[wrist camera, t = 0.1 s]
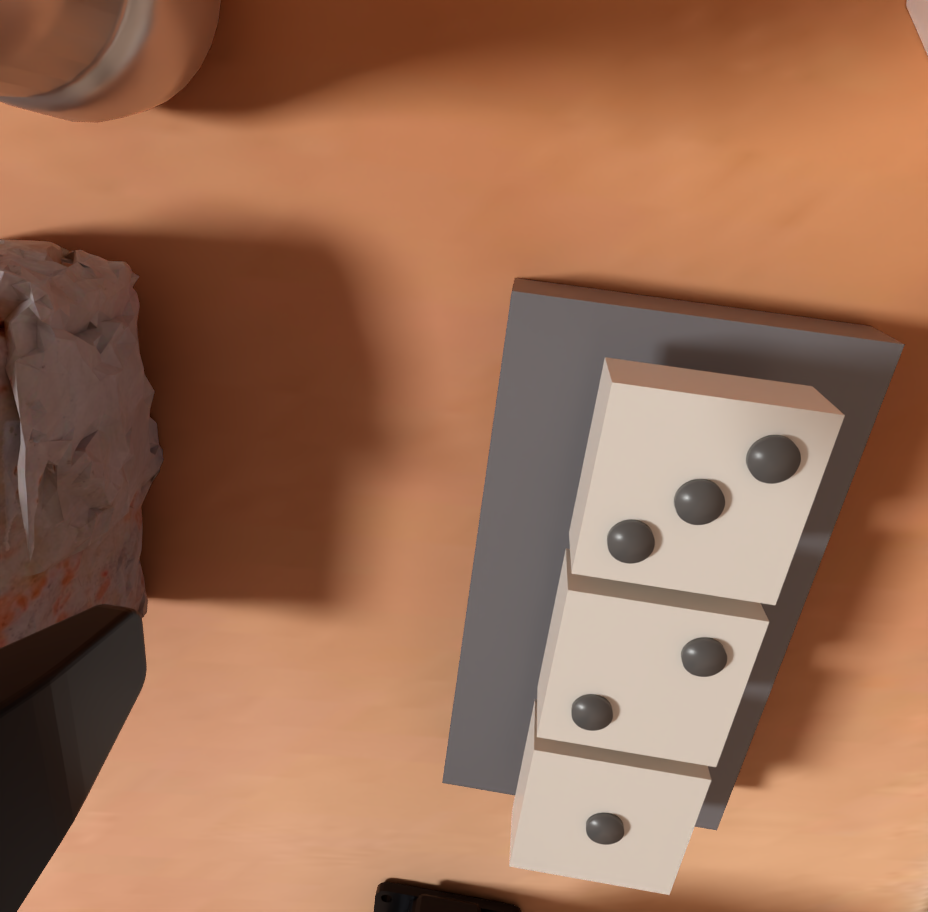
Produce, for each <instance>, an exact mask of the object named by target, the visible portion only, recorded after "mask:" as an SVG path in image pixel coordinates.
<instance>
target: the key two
mask: <svg viewBox="0 0 928 912" xmlns="http://www.w3.org/2000/svg"><path fill="white" fill-rule="evenodd" d="M768 624H769V620H768V618H767V616H766V614H765V612H764V609H763V607H762V605H761V603H757V602H751V601H745V600H738V599H732V598H725V597H719V596H713V595H706V594H700V593H693V592H687V591H681V590H674V589H668V588H661V587H655V586H649V585H642V584H636V583H629V582H623V581H616V580H610V579H604V578H597V577H591V576H584V575H578V574H572V573H571V558H570V549H567V548H566V550H565V555H564V560H563V564H562V569H561V574H560V579H559V584H558V589H557V594H556V599H555V604H554V608H553V613H552V618H551V623H550V628H549V633H548V638H547V643H546V648H545V652H544V657H543V662H542V667H541V672H540V677H539V682H538V687H537V737H540V738H546V739H552V740H557V741H563V742H569V743H575V744H581V745H587V746H593V747H599V748H605V749H611V750H617V751H623V752H629V753H635V754H641V755H647V756H652V757H658V758H664V759H670V760H676V761H682V762H688V763H694V764H700V765H706V766H712V767H716V766H717V763H718V761H719V758H720V755H721V753H722V750H723V747H724V744H725V742H726V739H727V736H728V733H729V731H730V728H731V725H732V722H733V720H734V717H735V714H736V712H737V709H738V706H739V703H740V701H741V698H742V695H743V692H744V690H745V687H746V684H747V681H748V679H749V676H750V673H751V671H752V668H753V665H754V662H755V660H756V657H757V654H758V651H759V649H760V646H761V643H762V640H763V638H764V635H765V632H766V630H767V627H768Z"/></svg>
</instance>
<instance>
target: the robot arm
mask: <svg viewBox="0 0 928 912" xmlns="http://www.w3.org/2000/svg"><path fill="white" fill-rule="evenodd" d="M145 677H146V655H145V644H144V634H143V623H142V618H141V615H140V614H139V612H138V611H137V610H135V609H133V608H128V607H122V606H116V605H110V604H100V605H96V606H94V607H91V608H89V609H87V610H85V611H82V612H80V613H78V614H76V615H73V616H71V617H69V618H67V619H64V620H62V621H60V622H58V623H55V624H53V625H51V626H49V627H46V628H44V629H42V630H40V631H37V632H35V633H33V634H31V635H28V636H26V637H24V638H22V639H19V640H17V641H15V642H13V643H11V644H8V645H6V646H4V647H2V648H0V912H17V910H18V909H19V907H20V906H21V904H22V903H23V901H24V900H25V898H26V896H27V895H28V893H29V892H30V890H31V889H32V887H33V885H34V884H35V882H36V881H37V879H38V878H39V876H40V874H41V873H42V871H43V870H44V868H45V867H46V865H47V863H48V862H49V860H50V859H51V857H52V856H53V854H54V853H55V851H56V849H57V848H58V846H59V845H60V843H61V841H62V840H63V838H64V836H65V835H66V833H67V832H68V830H69V828H70V827H71V825H72V823H73V822H74V820H75V818H76V816H77V814H78V813H79V811H80V809H81V807H82V805H83V803H84V801H85V800H86V798H87V796H88V794H89V792H90V790H91V788H92V786H93V784H94V782H95V780H96V778H97V776H98V774H99V772H100V770H101V768H102V766H103V764H104V762H105V760H106V758H107V756H108V754H109V752H110V750H111V749H112V747H113V745H114V743H115V741H116V739H117V737H118V735H119V733H120V731H121V729H122V727H123V725H124V723H125V721H126V719H127V717H128V715H129V713H130V711H131V709H132V707H133V705H134V703H135V701H136V699H137V697H138V695H139V693H140V691H141V689H142V687H143V684H144V681H145ZM374 912H521V910H520V908H518V907H517V906H515V905H511V904H506V903H500V902H495V901H489V900H484V899H478V898H473V897H467V896H461V895H456V894H450V893H445V892H439V891H434V890H428V889H423V888H417V887H412V886H406V885H401V884H395V883H390V882H384V883H381V884H379V885H378V887H377V891H376V896H375V905H374Z"/></svg>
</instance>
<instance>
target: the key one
mask: <svg viewBox="0 0 928 912" xmlns="http://www.w3.org/2000/svg"><path fill="white" fill-rule="evenodd" d="M710 783H711V777H710V773H709V769H708V766H706V765H700V764H694V763H688V762H682V761H676V760H670V759H664V758H658V757H652V756H647V755H641V754H635V753H629V752H623V751H617V750H611V749H605V748H599V747H593V746H587V745H581V744H575V743H569V742H563V741H557V740H552V739H546V738H540V737H537V699H535V701H534V706H533V711H532V716H531V721H530V726H529V731H528V736H527V740H526V745H525V750H524V755H523V760H522V765H521V770H520V775H519V779H518V784H517V789H516V794H515V799H514V804H513V809H512V822H511V842H510V862H509V866H510V867H515V868H521V869H526V870H532V871H538V872H543V873H549V874H555V875H560V876H566V877H571V878H577V879H583V880H588V881H594V882H599V883H605V884H611V885H616V886H622V887H627V888H633V889H639V890H644V891H650V892H656V893H661V894H667V895H670V892H671V889H672V886H673V884H674V881H675V878H676V876H677V873H678V870H679V867H680V865H681V862H682V859H683V856H684V854H685V851H686V848H687V845H688V843H689V840H690V837H691V835H692V832H693V829H694V826H695V824H696V821H697V818H698V815H699V813H700V810H701V807H702V804H703V802H704V799H705V796H706V794H707V791H708V788H709V785H710Z"/></svg>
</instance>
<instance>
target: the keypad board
mask: <svg viewBox="0 0 928 912" xmlns="http://www.w3.org/2000/svg"><path fill="white" fill-rule="evenodd" d="M904 345H905V344H903V343H901V342H899V341H897V340H896V339H894V338H892V337H890V336H888V335H887V334H885V333H883V332H881V331H879V330H877V329H876V328H874V327H872V326H867V325H860V324H853V323H845V322H838V321H830V320H823V319H816V318H808V317H801V316H793V315H786V314H779V313H771V312H764V311H756V310H749V309H742V308H734V307H727V306H719V305H712V304H705V303H697V302H690V301H682V300H675V299H668V298H660V297H653V296H645V295H638V294H631V293H623V292H616V291H608V290H601V289H594V288H586V287H579V286H571V285H564V284H557V283H549V282H542V281H534V280H527V279H520V278H515V280H514V284H513V288H512V294H511V301H510V308H509V315H508V322H507V329H506V336H505V343H504V350H503V357H502V365H501V372H500V379H499V386H498V393H497V400H496V407H495V414H494V421H493V428H492V435H491V442H490V449H489V456H488V464H487V471H486V478H485V485H484V492H483V499H482V506H481V513H480V520H479V527H478V534H477V541H476V548H475V555H474V562H473V570H472V577H471V584H470V591H469V598H468V605H467V612H466V619H465V626H464V633H463V640H462V647H461V654H460V661H459V669H458V676H457V683H456V690H455V697H454V704H453V711H452V718H451V725H450V732H449V739H448V746H447V753H446V760H445V767H444V775H443V782H442V783H447V784H452V785H458V786H464V787H470V788H476V789H481V790H487V791H493V792H499V793H504V794H510V795H515V794H516V789H517V784H518V779H519V775H520V770H521V765H522V760H523V755H524V750H525V745H526V740H527V736H528V731H529V726H530V721H531V716H532V711H533V706H534V701H535V699H537V687H538V682H539V677H540V672H541V667H542V662H543V657H544V652H545V648H546V643H547V638H548V633H549V628H550V623H551V618H552V613H553V608H554V604H555V599H556V594H557V589H558V584H559V579H560V574H561V569H562V564H563V560H564V555H565V550H566V548H567V549H570V542H569V530H570V525H571V520H572V516H573V511H574V506H575V501H576V496H577V491H578V486H579V481H580V477H581V472H582V467H583V462H584V457H585V452H586V447H587V442H588V437H589V433H590V428H591V423H592V418H593V413H594V408H595V403H596V398H597V393H598V389H599V384H600V379H601V374H602V369H603V364H604V359H605V357H607V358H614V359H621V360H628V361H635V362H643V363H650V364H657V365H664V366H671V367H678V368H685V369H693V370H700V371H707V372H714V373H721V374H728V375H735V376H743V377H750V378H757V379H764V380H771V381H778V382H785V383H793V384H800V385H807V386H813V387H814V388H815V389H816V390H817V391H818V392H819V393H820V394H822V395H823V396H824V397H825V398H826V399H827V400H828V401H829V402H831V403H832V404H833V405H834V406H835V407H836V408H837V409H838V410H839V411H841V412H842V413H843V414H844V415H845V416H844V419H843V422H842V425H841V427H840V430H839V433H838V435H837V438H836V441H835V444H834V446H833V449H832V452H831V455H830V457H829V460H828V463H827V466H826V468H825V471H824V474H823V476H822V479H821V482H820V485H819V487H818V490H817V493H816V496H815V498H814V501H813V504H812V507H811V509H810V512H809V515H808V517H807V520H806V523H805V526H804V528H803V531H802V534H801V537H800V539H799V542H798V545H797V548H796V550H795V553H794V556H793V558H792V561H791V564H790V567H789V569H788V572H787V575H786V578H785V580H784V583H783V586H782V589H781V591H780V594H779V597H778V599H777V602H776V605H770V604H764V603H761V605H762V607H763V609H764V612H765V614H766V616H767V618H768V620H769V624H768V627H767V630H766V632H765V635H764V638H763V640H762V643H761V646H760V649H759V651H758V654H757V657H756V660H755V662H754V665H753V668H752V671H751V673H750V676H749V679H748V681H747V684H746V687H745V690H744V692H743V695H742V698H741V701H740V703H739V706H738V709H737V712H736V714H735V717H734V720H733V722H732V725H731V728H730V731H729V733H728V736H727V739H726V742H725V744H724V747H723V750H722V753H721V755H720V758H719V761H718V763H717V766H716V767H712V766H708V769H709V773H710V777H711V783H710V785H709V788H708V791H707V794H706V796H705V799H704V802H703V804H702V807H701V810H700V813H699V815H698V818H697V821H696V824H695V827H701V828H707V829H713V830H717V828H718V826H719V823H720V821H721V818H722V816H723V813H724V810H725V808H726V805H727V803H728V800H729V797H730V795H731V792H732V790H733V787H734V784H735V782H736V779H737V777H738V774H739V772H740V769H741V766H742V764H743V761H744V759H745V756H746V753H747V751H748V748H749V746H750V743H751V740H752V738H753V735H754V733H755V730H756V728H757V725H758V722H759V720H760V717H761V715H762V712H763V709H764V707H765V704H766V702H767V699H768V697H769V694H770V691H771V689H772V686H773V684H774V681H775V678H776V676H777V673H778V671H779V668H780V665H781V663H782V660H783V658H784V655H785V653H786V650H787V647H788V645H789V642H790V640H791V637H792V634H793V632H794V629H795V627H796V624H797V621H798V619H799V616H800V614H801V611H802V609H803V606H804V603H805V601H806V598H807V596H808V593H809V590H810V588H811V585H812V583H813V580H814V577H815V575H816V572H817V570H818V567H819V565H820V562H821V559H822V557H823V554H824V552H825V549H826V546H827V544H828V541H829V539H830V536H831V534H832V531H833V528H834V526H835V523H836V521H837V518H838V515H839V513H840V510H841V508H842V505H843V502H844V500H845V497H846V495H847V492H848V490H849V487H850V484H851V482H852V479H853V477H854V474H855V471H856V469H857V466H858V464H859V461H860V458H861V456H862V453H863V451H864V448H865V446H866V443H867V440H868V438H869V435H870V433H871V430H872V427H873V425H874V422H875V420H876V417H877V414H878V412H879V409H880V407H881V404H882V402H883V399H884V396H885V394H886V391H887V389H888V386H889V383H890V381H891V378H892V376H893V373H894V371H895V368H896V365H897V363H898V360H899V358H900V355H901V352H902V350H903V347H904Z"/></svg>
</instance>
